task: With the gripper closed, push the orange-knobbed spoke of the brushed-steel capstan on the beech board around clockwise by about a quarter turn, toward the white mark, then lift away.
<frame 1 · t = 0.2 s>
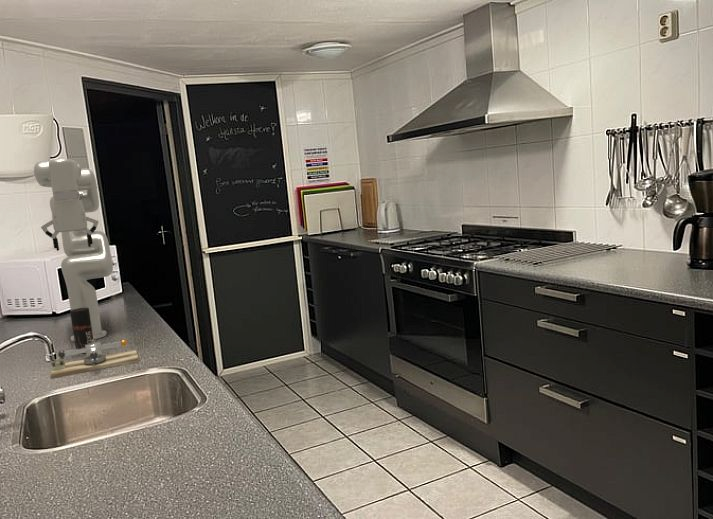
hand: (73, 248, 200), 36 cm above the worktop, tool pointing down, fingers open, 9 cm apart
board: (96, 365, 190), on the worktop
capstan: (94, 352, 189), point 4 cm above the worktop, hinge at 0.0°
deodorant: (86, 352, 207), on the worktop
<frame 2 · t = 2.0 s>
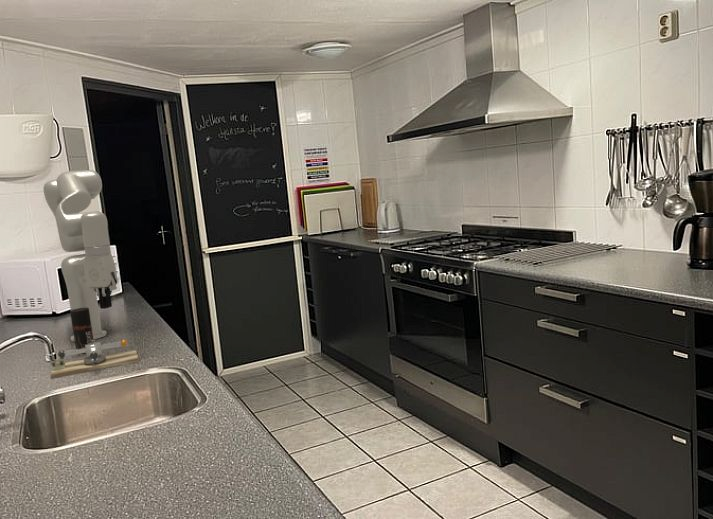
hand: (106, 307, 193), 17 cm above the worktop, tool pointing down, fingers closed
nothing on the worktop moved.
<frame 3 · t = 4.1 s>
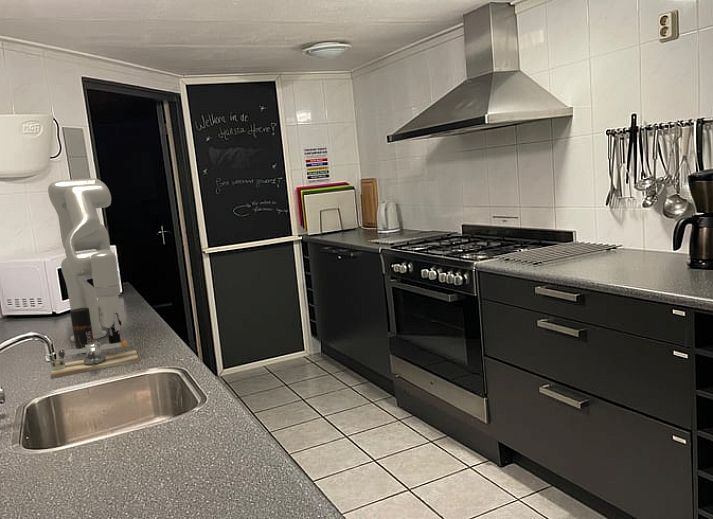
hand: (115, 346, 194), 4 cm above the worktop, tool pointing down, fingers closed
capstan: (94, 352, 189), point 4 cm above the worktop, hinge at -4.2°, touching gripper
everything else where it was.
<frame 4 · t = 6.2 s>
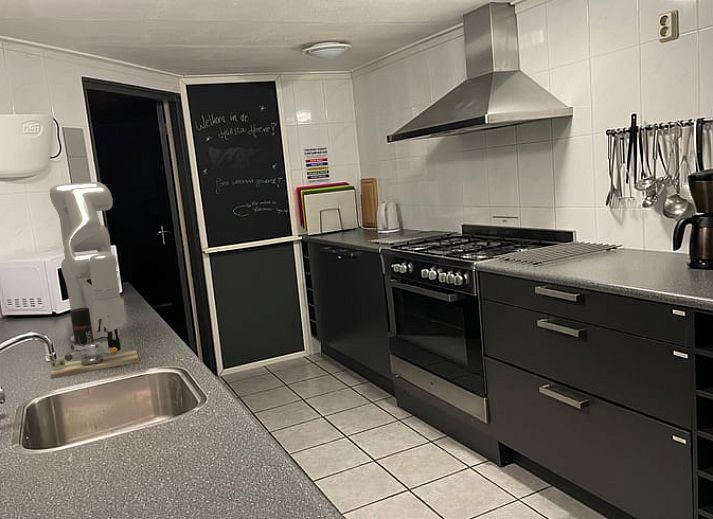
hand: (114, 350, 188), 4 cm above the worktop, tool pointing down, fingers closed
capstan: (94, 352, 189), point 4 cm above the worktop, hinge at -51.2°, touching gripper
everything else where it was.
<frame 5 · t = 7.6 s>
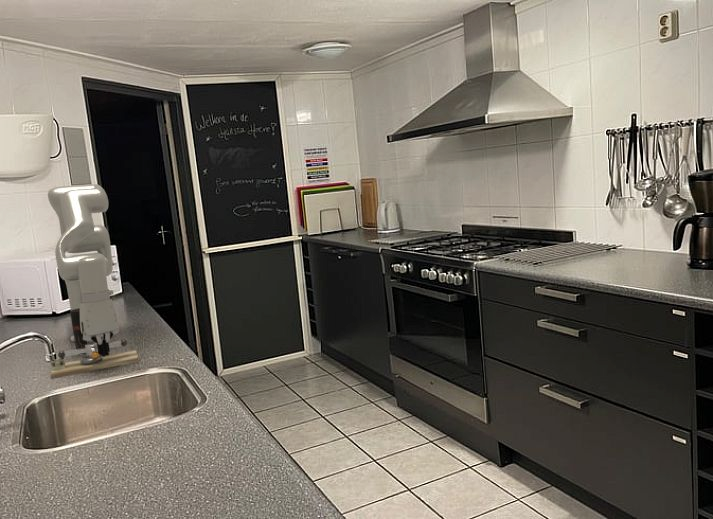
hand: (104, 355, 185), 4 cm above the worktop, tool pointing down, fingers closed
capstan: (94, 352, 189), point 4 cm above the worktop, hinge at -87.1°, touching gripper
everything else where it was.
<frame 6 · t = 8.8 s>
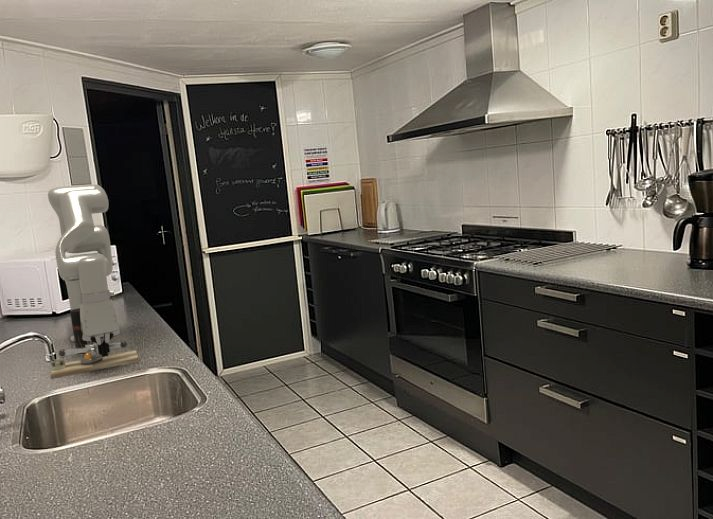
hand: (104, 355, 184), 4 cm above the worktop, tool pointing down, fingers closed
capstan: (94, 352, 189), point 4 cm above the worktop, hinge at -100.2°
everything else where it was.
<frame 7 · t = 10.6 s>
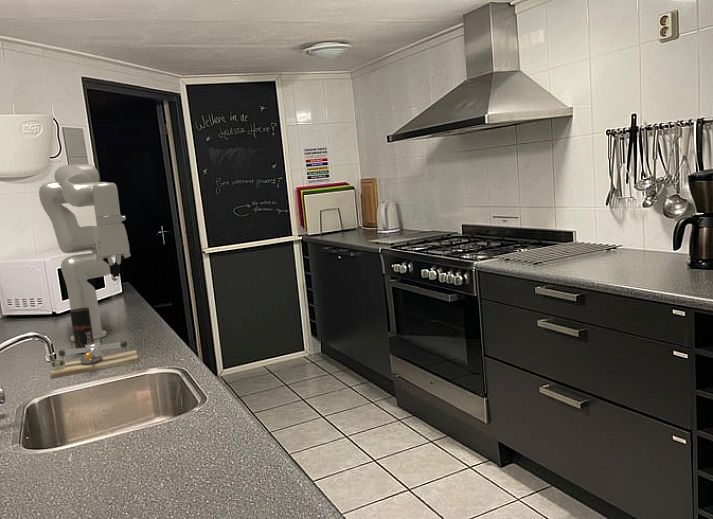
hand: (115, 276, 198), 26 cm above the worktop, tool pointing down, fingers closed
nothing on the worktop moved.
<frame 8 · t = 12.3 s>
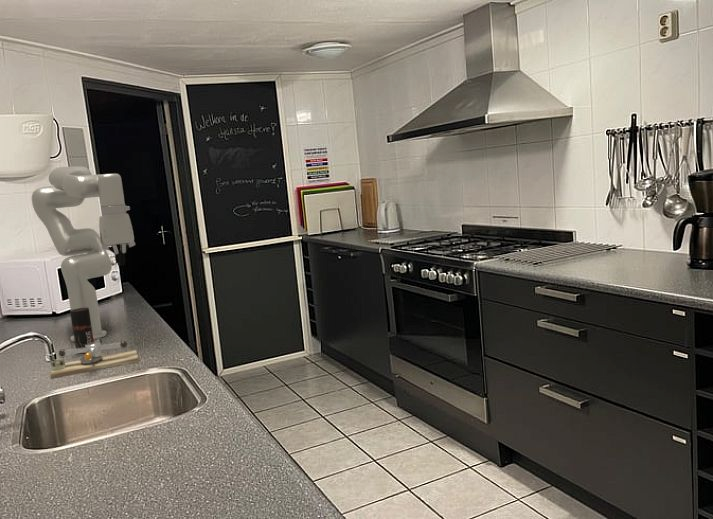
hand: (121, 264, 203), 29 cm above the worktop, tool pointing down, fingers closed
nothing on the worktop moved.
at the end: capstan at -100° (first picture: +0°) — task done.
